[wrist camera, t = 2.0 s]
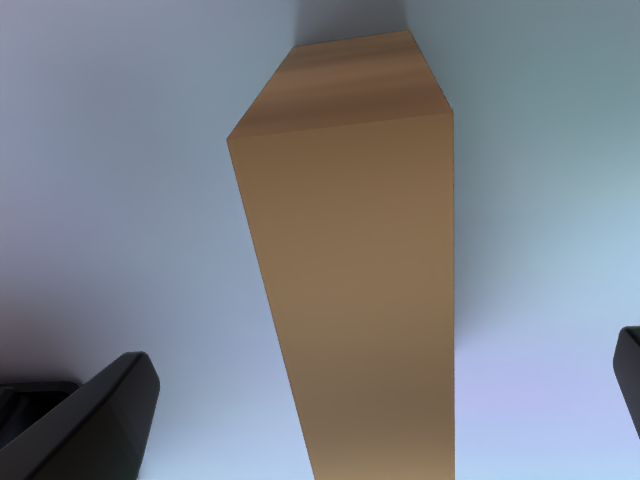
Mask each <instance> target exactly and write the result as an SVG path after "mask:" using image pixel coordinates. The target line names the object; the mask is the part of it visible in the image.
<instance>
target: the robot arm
mask: <svg viewBox="0 0 640 480" xmlns="http://www.w3.org/2000/svg"><path fill="white" fill-rule="evenodd" d="M613 368H614V372H615V375H616V378H617V381H618V383H619V386H620V389H621V391H622V394H623V397H624V399H625V402H626V405H627V407H628V410H629V412H630V415H631V418H632V420H633V423H634V426H635V428H636V431H637V434H638V436H639V439H640V326H626V327H623V328H622V329H621V330H620V333H619V336H618V341H617V345H616V349H615V353H614V358H613ZM159 391H160V381H159V377H158V375H157V373H156V371H155V369H154V366H153V364H152V362H151V360H150V358H149V356H148V354H147V353H145V352H142V351H140V352H127V353H124V354H123V355H121V356H120V357H119V358H117V359H116V360H115V361H114V362H112V363H111V364H110V365H108V366H107V367H106V368H105V369H103V370H102V371H101V372H100V373H98V374H97V375H96V376H94V377H93V378H92V379H91V380H89V381H88V382H87V383H85V384H84V385H83V386H82V387H80V388H79V387H78V386H77V385H75V384H73V383H70V382H42V383H18V384H0V480H136V478H137V475H138V472H139V469H140V466H141V463H142V460H143V456H144V453H145V449H146V445H147V441H148V436H149V432H150V428H151V424H152V420H153V416H154V412H155V408H156V404H157V400H158V395H159Z"/></svg>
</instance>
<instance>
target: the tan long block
mask: <svg viewBox="0 0 640 480" xmlns="http://www.w3.org/2000/svg"><path fill="white" fill-rule="evenodd" d="M226 141H227V144H228V148H229V152H230V156H231V160H232V164H233V168H234V171H235V175H236V179H237V183H238V187H239V191H240V194H241V198H242V202H243V206H244V210H245V214H246V217H247V221H248V225H249V229H250V233H251V237H252V240H253V244H254V248H255V252H256V256H257V260H258V263H259V267H260V271H261V275H262V279H263V283H264V286H265V290H266V294H267V298H268V302H269V306H270V310H271V313H272V317H273V321H274V325H275V329H276V333H277V336H278V340H279V344H280V348H281V352H282V356H283V359H284V363H285V367H286V371H287V375H288V379H289V382H290V386H291V390H292V394H293V398H294V402H295V405H296V409H297V413H298V417H299V421H300V425H301V428H302V432H303V436H304V440H305V444H306V448H307V451H308V455H309V459H310V463H311V467H312V471H313V475H314V478H315V480H455V416H454V159H453V111H452V109H451V107H450V105H449V103H448V101H447V100H446V98H445V96H444V94H443V92H442V90H441V88H440V86H439V85H438V83H437V81H436V79H435V77H434V75H433V73H432V71H431V69H430V68H429V66H428V64H427V62H426V60H425V58H424V56H423V54H422V53H421V51H420V49H419V47H418V45H417V43H416V41H415V39H414V38H413V36H412V34H411V32H410V30H404V31H397V32H391V33H384V34H377V35H370V36H363V37H356V38H350V39H343V40H336V41H329V42H322V43H315V44H309V45H302V46H295V47H293V48H292V50H291V51H290V52H289V54H288V55H287V57H286V58H285V59H284V61H283V62H282V63H281V65H280V66H279V68H278V69H277V70H276V72H275V73H274V74H273V76H272V77H271V79H270V80H269V81H268V83H267V84H266V85H265V87H264V88H263V90H262V91H261V92H260V94H259V95H258V97H257V98H256V99H255V101H254V102H253V103H252V105H251V106H250V108H249V109H248V110H247V112H246V113H245V114H244V116H243V117H242V119H241V120H240V121H239V123H238V124H237V125H236V127H235V128H234V130H233V131H232V132H231V134H230V135H229V136H228V138H227V139H226Z"/></svg>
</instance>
